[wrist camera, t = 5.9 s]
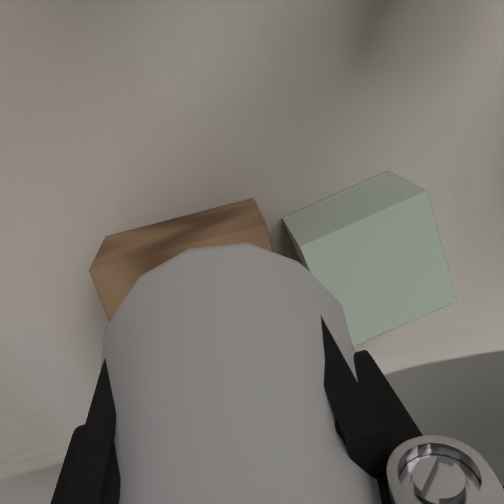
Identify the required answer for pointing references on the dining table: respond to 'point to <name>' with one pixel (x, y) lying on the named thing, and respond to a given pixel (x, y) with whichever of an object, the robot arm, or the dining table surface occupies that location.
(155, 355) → the salt shaker
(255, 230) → the walnut block
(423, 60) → the dining table surface
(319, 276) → the sage block
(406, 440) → the robot arm
